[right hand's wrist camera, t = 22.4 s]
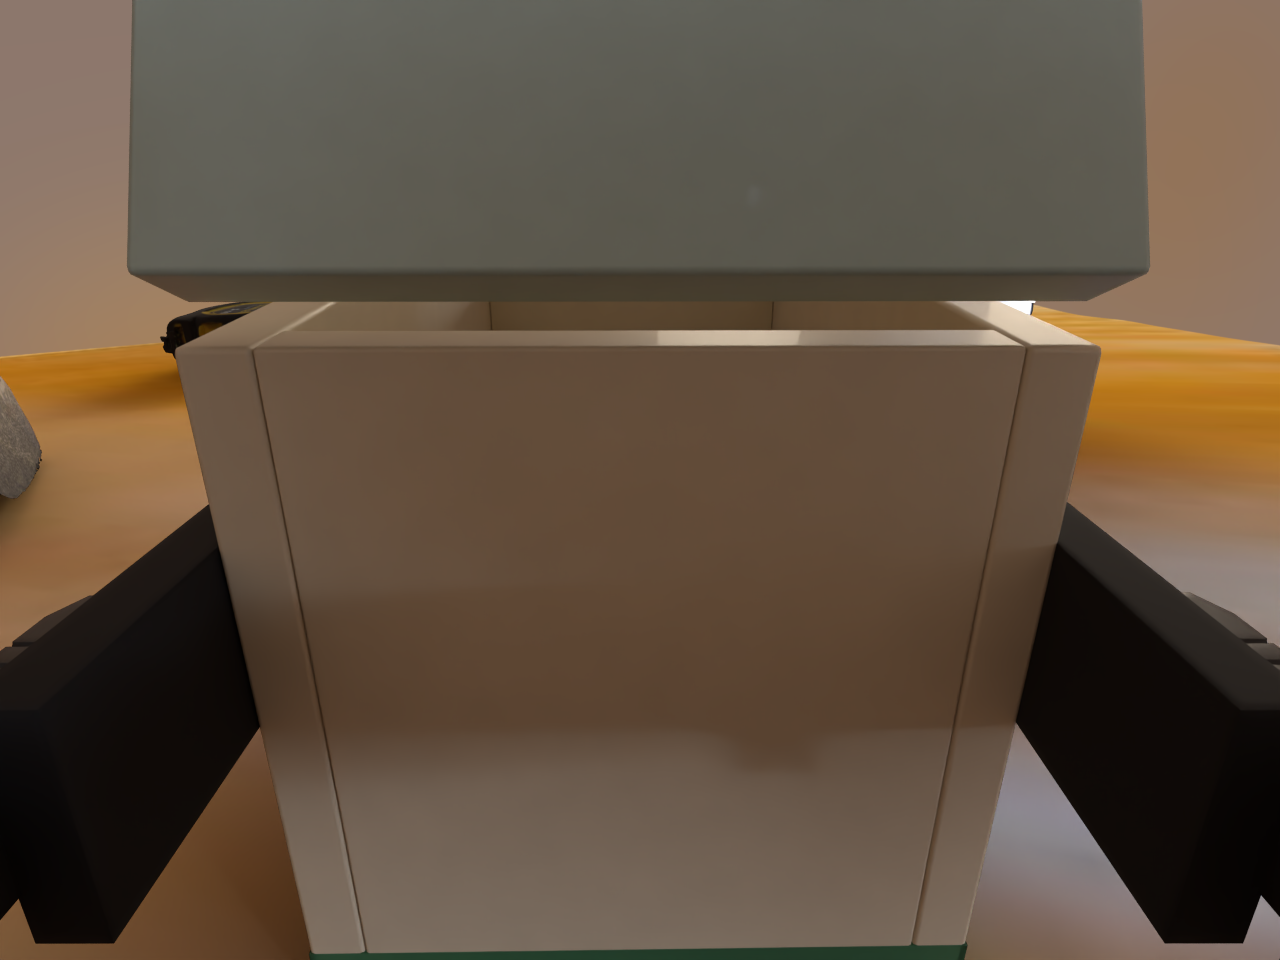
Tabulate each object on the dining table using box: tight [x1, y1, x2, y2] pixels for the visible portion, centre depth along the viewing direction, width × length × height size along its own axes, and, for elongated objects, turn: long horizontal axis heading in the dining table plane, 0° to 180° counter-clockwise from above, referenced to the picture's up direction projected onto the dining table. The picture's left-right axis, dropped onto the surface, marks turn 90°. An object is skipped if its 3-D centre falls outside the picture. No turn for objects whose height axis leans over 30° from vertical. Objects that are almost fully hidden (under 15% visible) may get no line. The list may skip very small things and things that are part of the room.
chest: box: [175, 301, 1101, 960], centre depth 18 cm, size 16×10×10 cm, turn 1°
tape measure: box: [160, 302, 272, 359], centre depth 52 cm, size 7×7×4 cm
